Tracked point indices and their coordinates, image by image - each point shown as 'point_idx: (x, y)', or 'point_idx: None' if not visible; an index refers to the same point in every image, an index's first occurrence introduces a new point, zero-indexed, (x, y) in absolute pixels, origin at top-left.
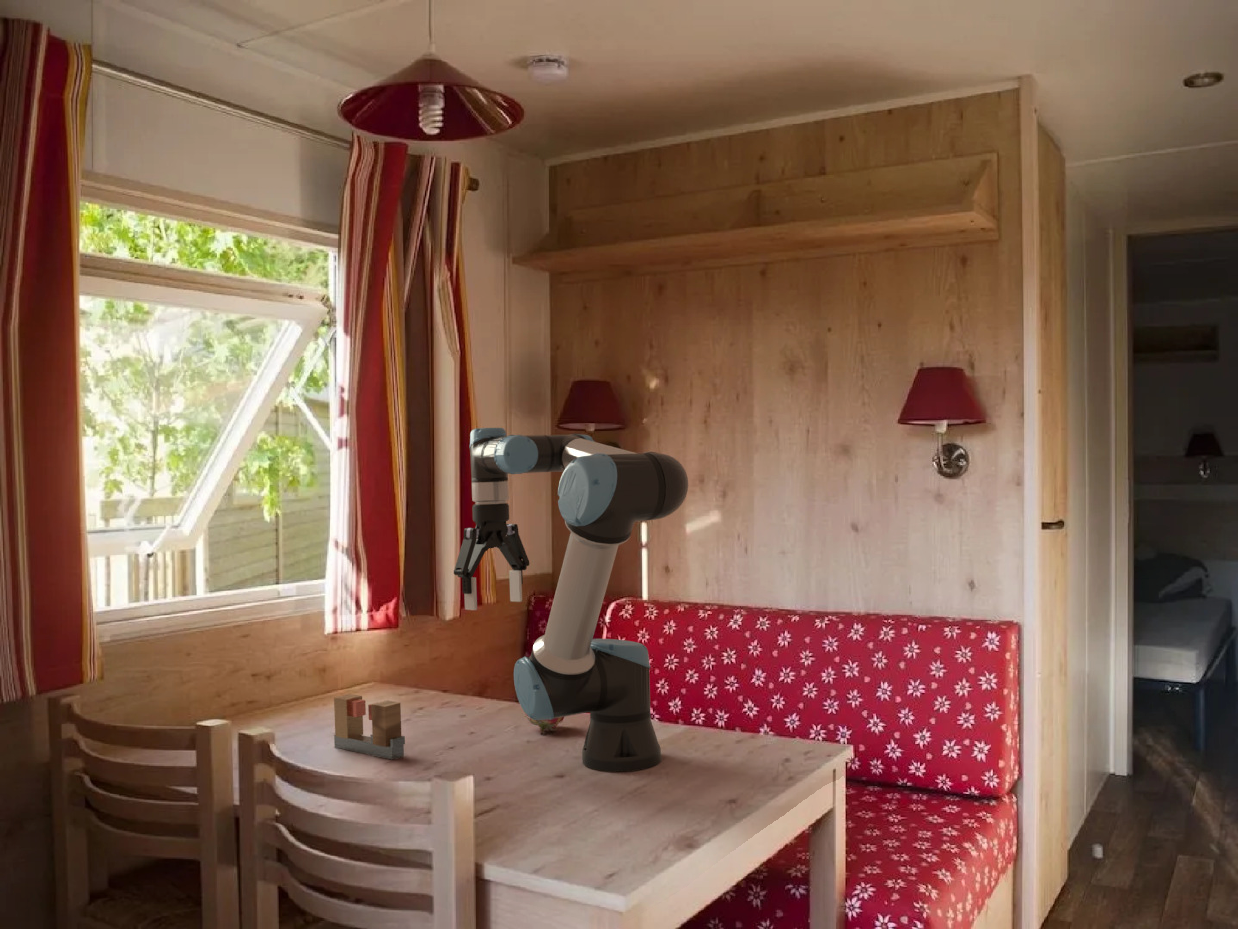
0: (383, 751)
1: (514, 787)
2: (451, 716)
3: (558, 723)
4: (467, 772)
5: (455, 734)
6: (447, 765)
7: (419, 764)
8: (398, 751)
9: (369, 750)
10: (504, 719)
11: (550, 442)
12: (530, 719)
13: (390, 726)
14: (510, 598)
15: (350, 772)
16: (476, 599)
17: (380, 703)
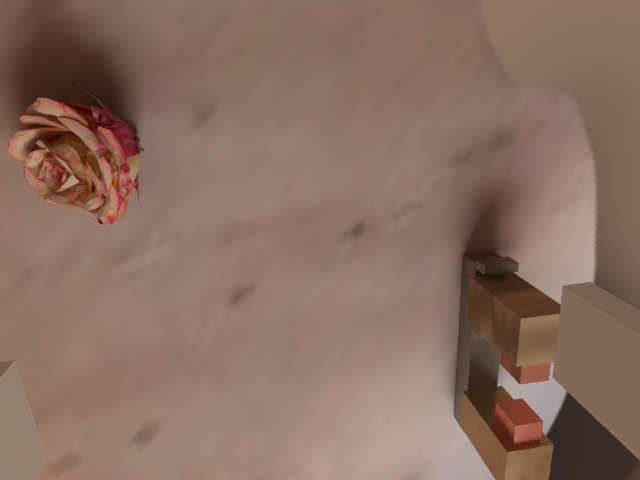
0: None
1: None
2: (168, 447)
3: (89, 93)
4: (484, 32)
5: (273, 313)
6: (465, 119)
7: (489, 179)
8: (483, 258)
9: None
10: (95, 335)
11: None
12: (137, 176)
13: (523, 291)
14: (35, 476)
15: (589, 245)
16: (633, 324)
17: (549, 350)
